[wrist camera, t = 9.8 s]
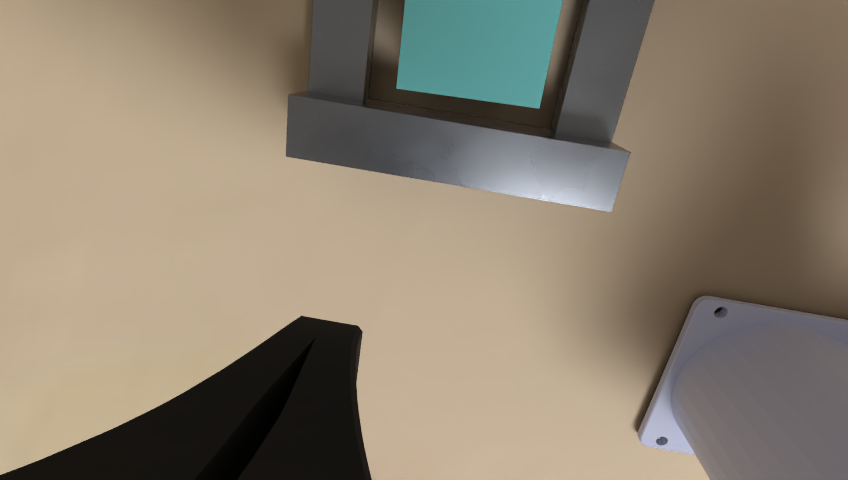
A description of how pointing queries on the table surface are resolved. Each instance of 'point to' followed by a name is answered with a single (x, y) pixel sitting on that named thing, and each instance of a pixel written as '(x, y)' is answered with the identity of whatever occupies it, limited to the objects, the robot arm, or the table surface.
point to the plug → (478, 48)
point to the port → (464, 134)
